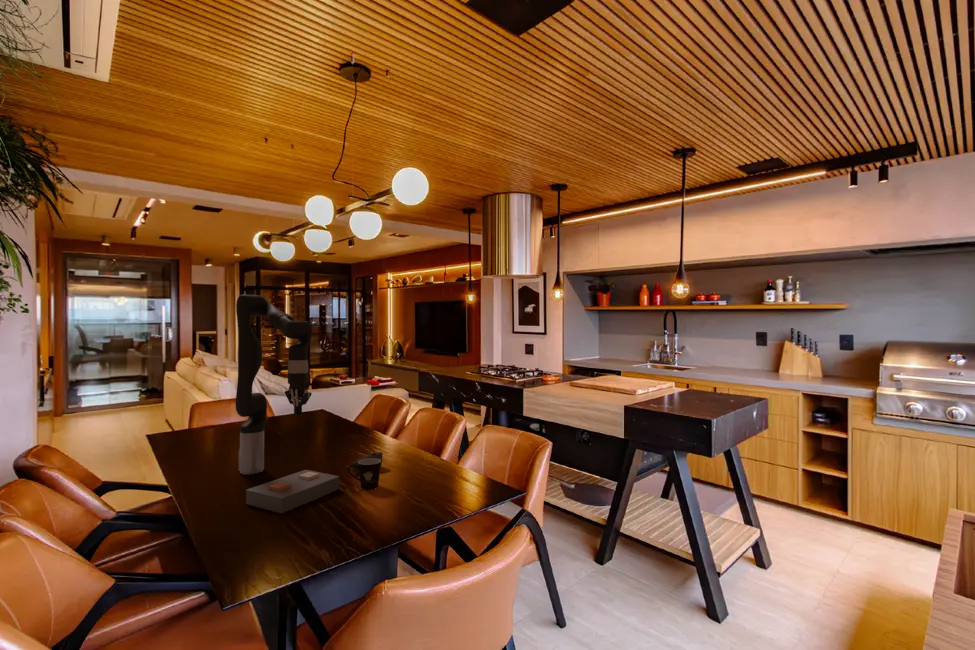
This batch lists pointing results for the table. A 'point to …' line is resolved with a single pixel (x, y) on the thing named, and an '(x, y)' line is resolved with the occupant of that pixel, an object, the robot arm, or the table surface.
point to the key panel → (291, 492)
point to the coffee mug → (368, 473)
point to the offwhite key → (308, 476)
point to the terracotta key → (279, 486)
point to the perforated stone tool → (374, 455)
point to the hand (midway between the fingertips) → (297, 415)
